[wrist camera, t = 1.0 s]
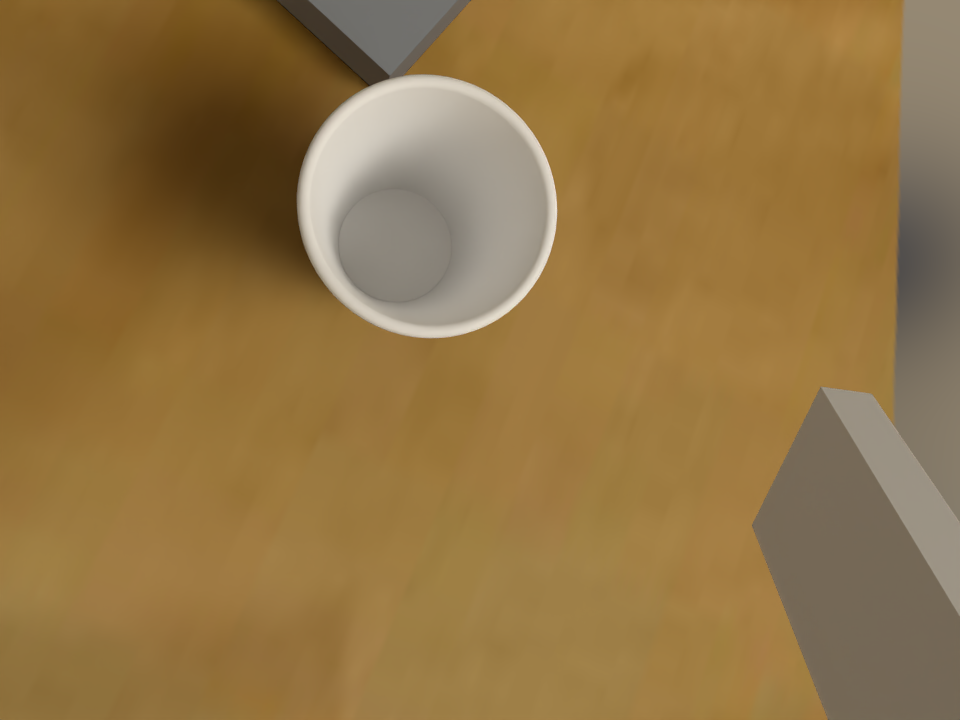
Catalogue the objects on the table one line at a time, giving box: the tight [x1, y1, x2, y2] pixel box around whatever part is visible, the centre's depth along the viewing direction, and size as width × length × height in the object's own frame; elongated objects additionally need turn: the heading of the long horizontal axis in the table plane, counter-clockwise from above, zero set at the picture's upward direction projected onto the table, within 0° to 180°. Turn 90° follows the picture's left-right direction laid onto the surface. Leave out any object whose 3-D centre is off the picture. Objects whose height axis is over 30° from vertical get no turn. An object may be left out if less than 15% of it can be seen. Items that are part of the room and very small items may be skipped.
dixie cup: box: [297, 74, 557, 338], centre depth 30 cm, size 8×8×11 cm
